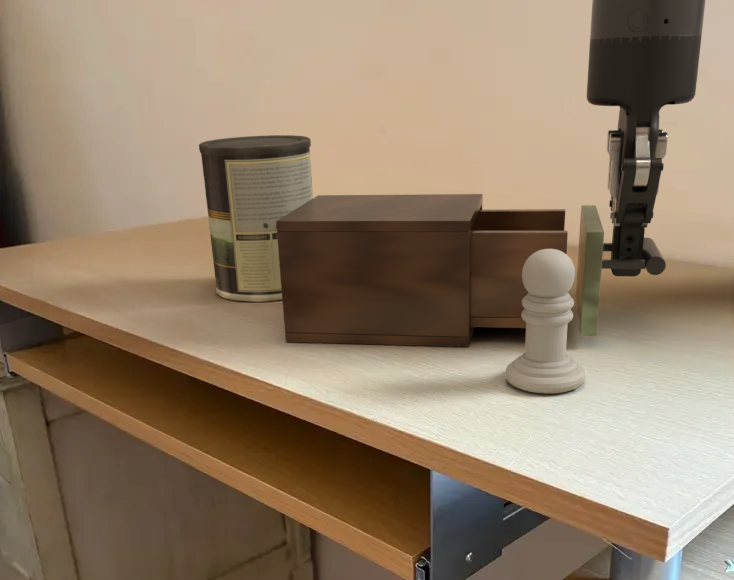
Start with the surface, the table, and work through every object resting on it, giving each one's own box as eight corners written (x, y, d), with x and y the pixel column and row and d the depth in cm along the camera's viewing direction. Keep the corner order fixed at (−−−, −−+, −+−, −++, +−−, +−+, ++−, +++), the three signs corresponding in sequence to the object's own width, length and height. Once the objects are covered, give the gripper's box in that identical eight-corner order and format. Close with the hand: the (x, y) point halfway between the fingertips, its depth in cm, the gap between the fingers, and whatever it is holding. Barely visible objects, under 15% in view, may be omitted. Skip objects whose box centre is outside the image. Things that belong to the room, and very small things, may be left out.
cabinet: (481, 302, 75) (482, 193, 71) (468, 347, 63) (470, 220, 60) (324, 299, 78) (317, 195, 74) (285, 342, 66) (275, 221, 62)
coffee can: (194, 297, 80) (175, 145, 75) (252, 273, 89) (240, 135, 83) (285, 306, 76) (272, 146, 70) (337, 280, 84) (330, 135, 79)
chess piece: (544, 402, 53) (550, 262, 49) (488, 379, 57) (491, 248, 53) (602, 383, 55) (612, 249, 52) (545, 362, 60) (551, 237, 56)
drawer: (646, 297, 71) (655, 204, 68) (663, 338, 61) (674, 231, 58) (435, 293, 75) (434, 206, 72) (416, 332, 64) (415, 231, 61)
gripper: (719, 27, 52) (688, 297, 58) (687, 32, 64) (664, 255, 70) (594, 32, 53) (578, 295, 60) (586, 36, 65) (573, 255, 72)
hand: (624, 273), depth 65 cm, fingers closed
